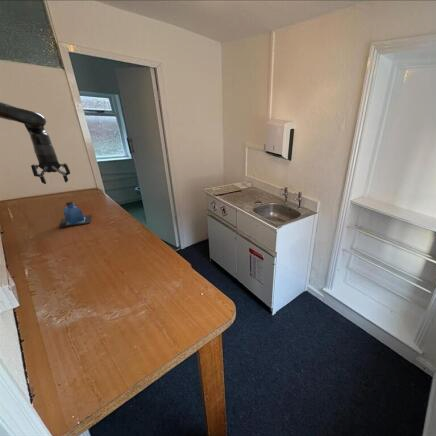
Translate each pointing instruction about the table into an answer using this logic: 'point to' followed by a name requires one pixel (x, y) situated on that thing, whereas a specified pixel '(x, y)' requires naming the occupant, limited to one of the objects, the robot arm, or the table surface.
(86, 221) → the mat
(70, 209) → the perfume bottle
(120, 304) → the table surface
